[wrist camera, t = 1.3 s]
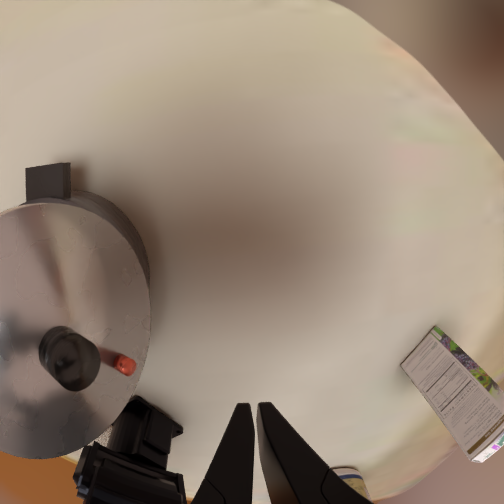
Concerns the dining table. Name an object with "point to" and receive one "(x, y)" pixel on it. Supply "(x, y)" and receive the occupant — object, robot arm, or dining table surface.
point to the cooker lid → (66, 328)
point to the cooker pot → (80, 203)
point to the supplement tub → (353, 480)
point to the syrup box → (459, 394)
